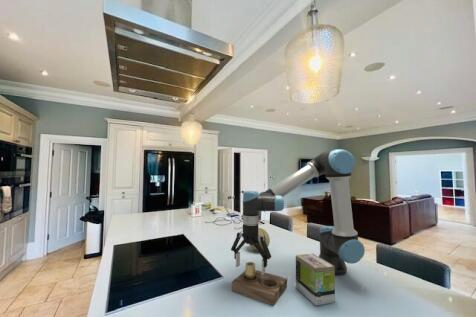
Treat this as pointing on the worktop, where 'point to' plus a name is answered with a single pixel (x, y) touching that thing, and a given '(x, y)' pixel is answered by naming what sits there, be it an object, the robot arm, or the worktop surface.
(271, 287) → the jig
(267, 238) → the cantaloupe
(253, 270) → the bushing
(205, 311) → the worktop surface
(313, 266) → the tea box
